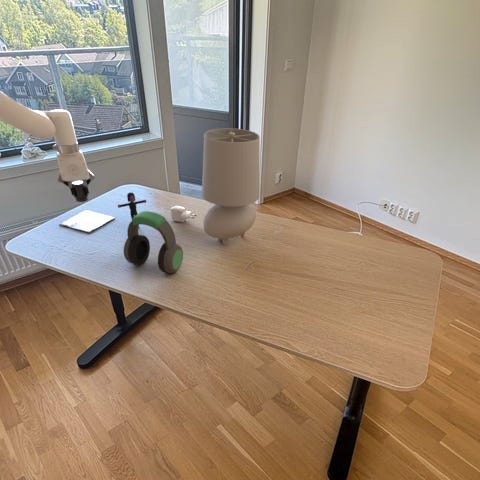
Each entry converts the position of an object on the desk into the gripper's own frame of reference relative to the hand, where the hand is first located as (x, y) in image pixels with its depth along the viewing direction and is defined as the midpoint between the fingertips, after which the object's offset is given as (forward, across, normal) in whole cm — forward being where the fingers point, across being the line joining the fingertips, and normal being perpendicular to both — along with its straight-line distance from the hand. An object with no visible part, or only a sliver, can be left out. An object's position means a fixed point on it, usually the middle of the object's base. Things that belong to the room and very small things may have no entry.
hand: (81, 195), depth 142 cm
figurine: (+12, +19, -11) cm, 25 cm away
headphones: (+12, +21, -44) cm, 50 cm away
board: (+12, 0, 0) cm, 12 cm away
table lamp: (+12, +54, -33) cm, 64 cm away
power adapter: (+12, +40, -11) cm, 43 cm away
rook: (+2, 0, 0) cm, 2 cm away
